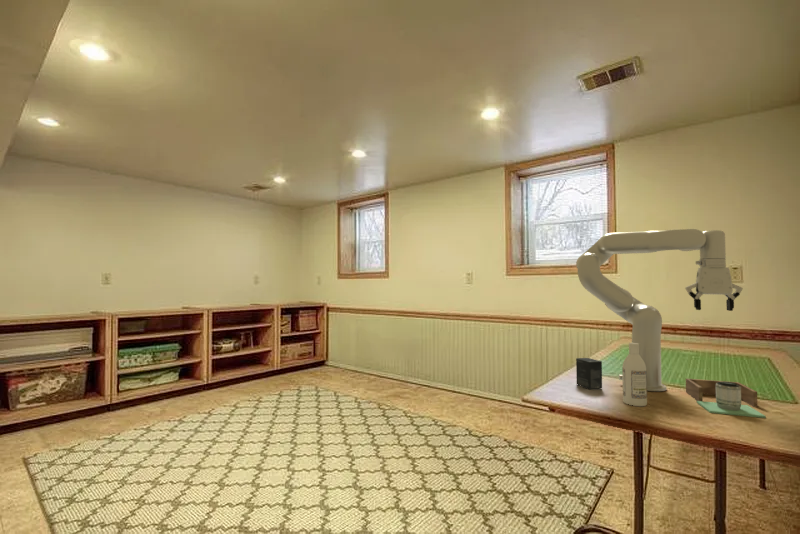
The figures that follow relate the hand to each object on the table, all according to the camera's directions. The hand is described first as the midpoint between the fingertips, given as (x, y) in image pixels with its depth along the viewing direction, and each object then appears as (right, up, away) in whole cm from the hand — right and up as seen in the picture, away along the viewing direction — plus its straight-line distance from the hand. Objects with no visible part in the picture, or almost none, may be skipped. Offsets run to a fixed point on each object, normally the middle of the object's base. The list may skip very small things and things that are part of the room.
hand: (713, 310), depth 148 cm
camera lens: (-11, -29, -20) cm, 37 cm away
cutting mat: (-11, -30, -21) cm, 38 cm away
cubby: (-5, -30, -9) cm, 32 cm away
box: (-43, -31, +6) cm, 53 cm away
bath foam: (-38, -30, -14) cm, 50 cm away
